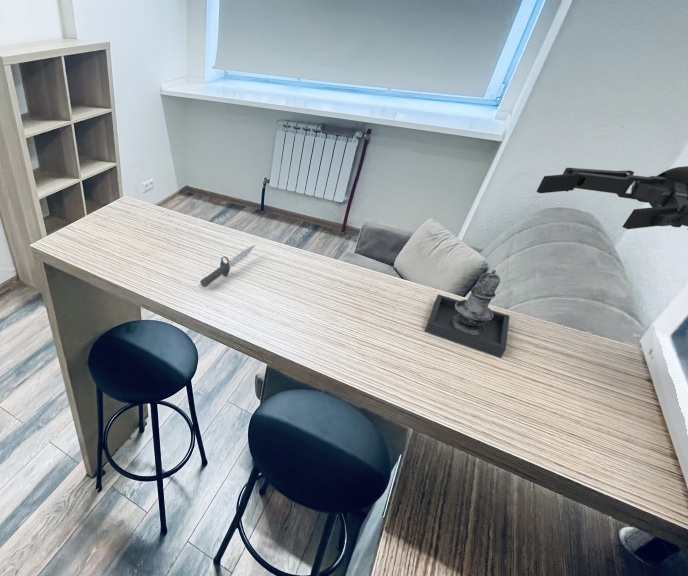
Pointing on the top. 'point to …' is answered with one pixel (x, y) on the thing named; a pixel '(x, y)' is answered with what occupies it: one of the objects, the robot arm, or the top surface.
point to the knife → (225, 267)
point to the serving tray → (487, 341)
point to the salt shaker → (476, 305)
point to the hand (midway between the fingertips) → (582, 200)
